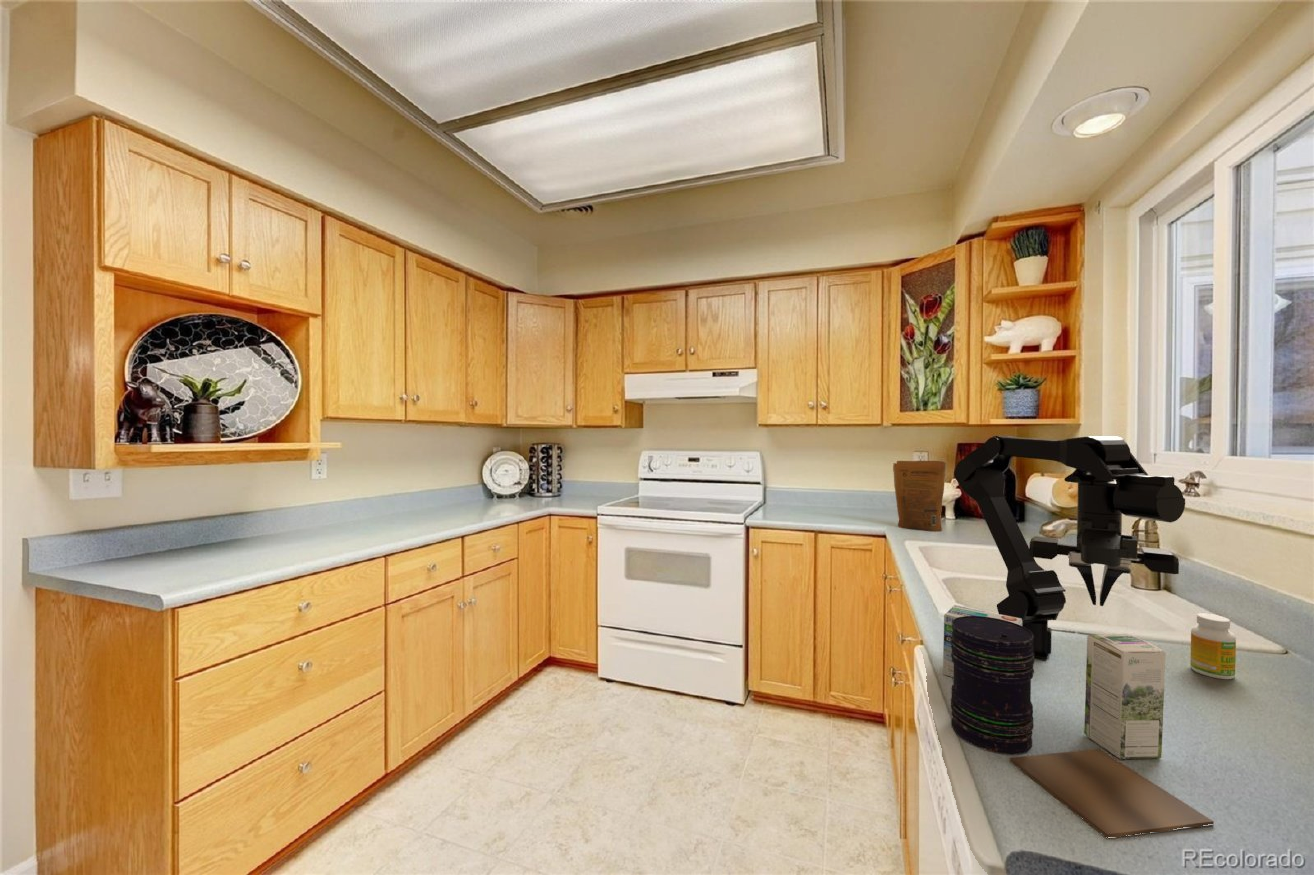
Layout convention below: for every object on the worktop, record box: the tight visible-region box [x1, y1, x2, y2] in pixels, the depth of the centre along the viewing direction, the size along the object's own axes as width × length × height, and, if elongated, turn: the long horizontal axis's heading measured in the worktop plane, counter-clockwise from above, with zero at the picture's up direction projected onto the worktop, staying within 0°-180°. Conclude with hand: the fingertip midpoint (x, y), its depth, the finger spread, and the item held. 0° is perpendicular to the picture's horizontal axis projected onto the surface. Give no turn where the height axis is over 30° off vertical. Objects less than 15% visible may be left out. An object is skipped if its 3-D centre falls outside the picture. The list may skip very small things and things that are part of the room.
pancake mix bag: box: [892, 460, 947, 532], centre depth 216 cm, size 7×19×28 cm, turn 55°
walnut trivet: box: [1009, 748, 1214, 839], centre depth 63 cm, size 13×13×1 cm
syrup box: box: [1083, 633, 1167, 760], centre depth 72 cm, size 6×6×14 cm
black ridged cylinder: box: [950, 616, 1035, 756], centre depth 75 cm, size 10×10×15 cm
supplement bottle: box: [1189, 612, 1237, 680], centre depth 93 cm, size 5×5×10 cm
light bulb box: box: [942, 604, 1022, 678], centre depth 91 cm, size 11×7×11 cm, turn 47°
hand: (1097, 605), depth 89 cm, fingers closed
